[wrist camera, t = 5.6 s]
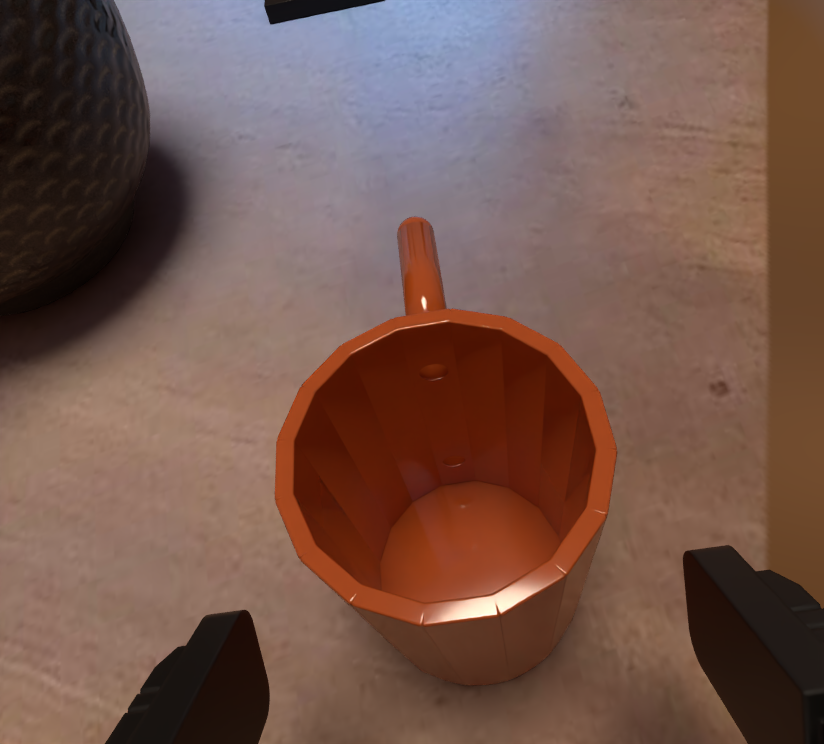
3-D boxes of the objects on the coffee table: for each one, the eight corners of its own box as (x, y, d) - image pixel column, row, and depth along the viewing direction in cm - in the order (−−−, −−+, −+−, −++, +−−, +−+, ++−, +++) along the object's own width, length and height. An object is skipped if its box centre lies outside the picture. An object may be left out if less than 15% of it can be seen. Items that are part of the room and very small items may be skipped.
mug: (600, 671, 19) (662, 596, 10) (379, 698, 19) (269, 647, 11) (525, 351, 25) (526, 146, 17) (361, 378, 26) (283, 191, 17)
